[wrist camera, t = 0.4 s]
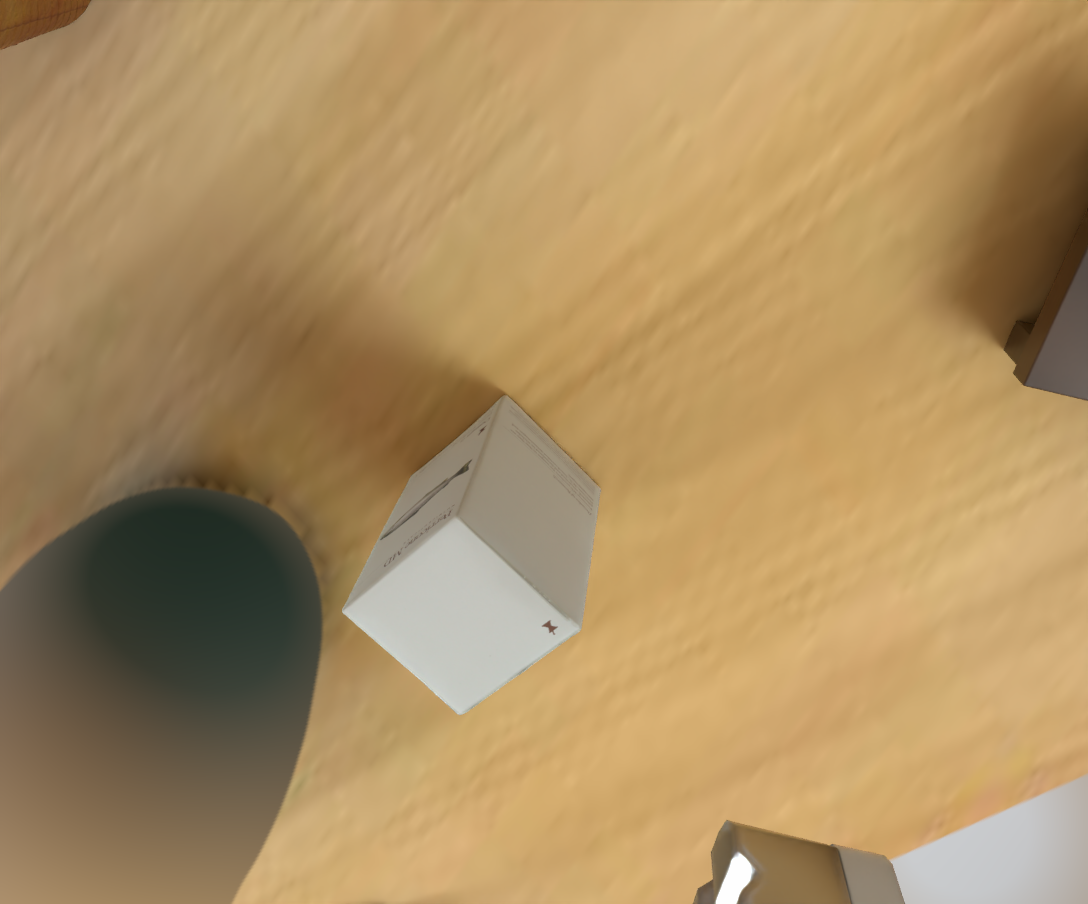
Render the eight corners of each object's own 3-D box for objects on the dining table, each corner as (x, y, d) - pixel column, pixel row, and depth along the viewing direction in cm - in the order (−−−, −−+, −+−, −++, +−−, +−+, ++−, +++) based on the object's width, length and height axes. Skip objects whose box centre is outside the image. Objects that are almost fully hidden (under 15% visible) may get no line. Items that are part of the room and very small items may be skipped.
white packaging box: (506, 387, 50) (459, 511, 39) (605, 489, 52) (588, 634, 41) (406, 473, 53) (334, 611, 42) (503, 566, 55) (461, 723, 43)
